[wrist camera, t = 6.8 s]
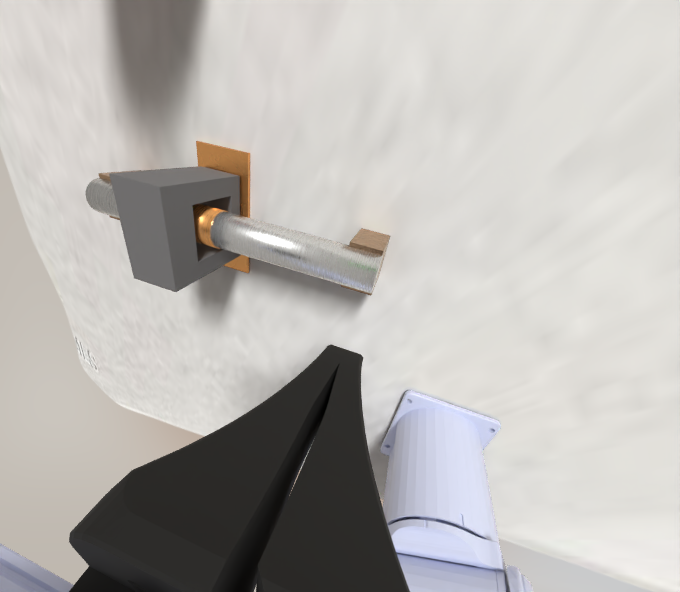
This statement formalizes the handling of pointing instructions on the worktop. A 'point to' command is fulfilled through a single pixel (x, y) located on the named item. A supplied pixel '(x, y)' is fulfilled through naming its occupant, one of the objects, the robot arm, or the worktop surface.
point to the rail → (266, 231)
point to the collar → (172, 221)
